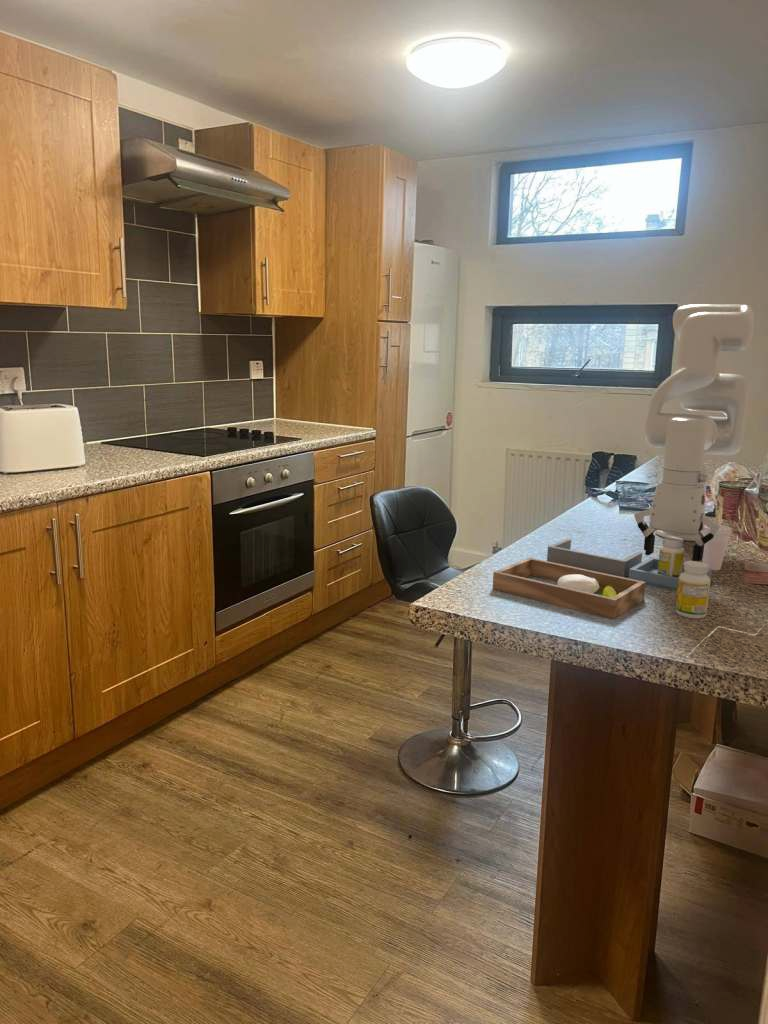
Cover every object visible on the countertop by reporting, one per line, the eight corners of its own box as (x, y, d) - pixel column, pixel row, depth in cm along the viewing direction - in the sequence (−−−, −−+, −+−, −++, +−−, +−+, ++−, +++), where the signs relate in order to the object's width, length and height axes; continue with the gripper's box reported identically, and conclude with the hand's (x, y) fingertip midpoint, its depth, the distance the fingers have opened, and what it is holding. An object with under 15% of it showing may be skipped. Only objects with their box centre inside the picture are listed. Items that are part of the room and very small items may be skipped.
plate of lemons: (586, 601, 141) (587, 587, 141) (607, 593, 147) (608, 579, 146) (624, 612, 136) (626, 598, 135) (645, 603, 141) (646, 589, 141)
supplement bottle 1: (680, 575, 157) (684, 537, 155) (681, 581, 152) (686, 542, 151) (656, 572, 158) (660, 535, 157) (657, 578, 154) (661, 540, 152)
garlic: (594, 589, 148) (595, 571, 147) (602, 600, 142) (603, 581, 141) (554, 588, 149) (555, 570, 148) (560, 599, 142) (562, 580, 141)
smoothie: (730, 573, 161) (738, 511, 158) (699, 571, 163) (706, 509, 160) (723, 565, 167) (730, 505, 165) (693, 563, 169) (700, 504, 166)
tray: (649, 567, 164) (651, 557, 164) (710, 579, 156) (712, 568, 156) (628, 580, 154) (629, 569, 154) (691, 594, 146) (693, 582, 146)
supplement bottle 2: (700, 621, 131) (707, 569, 129) (670, 614, 134) (676, 563, 132) (710, 613, 135) (716, 563, 133) (680, 607, 138) (686, 558, 136)
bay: (566, 553, 175) (567, 538, 174) (640, 568, 164) (642, 552, 163) (546, 561, 167) (547, 546, 167) (623, 577, 156) (625, 561, 156)
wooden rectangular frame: (528, 573, 158) (529, 557, 157) (644, 599, 142) (645, 581, 142) (492, 589, 146) (493, 572, 146) (613, 619, 131) (615, 600, 130)
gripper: (730, 481, 148) (720, 562, 152) (645, 471, 159) (638, 547, 162) (720, 485, 143) (710, 570, 146) (632, 475, 153) (625, 554, 157)
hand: (672, 558), depth 154 cm, fingers open, 9 cm apart
